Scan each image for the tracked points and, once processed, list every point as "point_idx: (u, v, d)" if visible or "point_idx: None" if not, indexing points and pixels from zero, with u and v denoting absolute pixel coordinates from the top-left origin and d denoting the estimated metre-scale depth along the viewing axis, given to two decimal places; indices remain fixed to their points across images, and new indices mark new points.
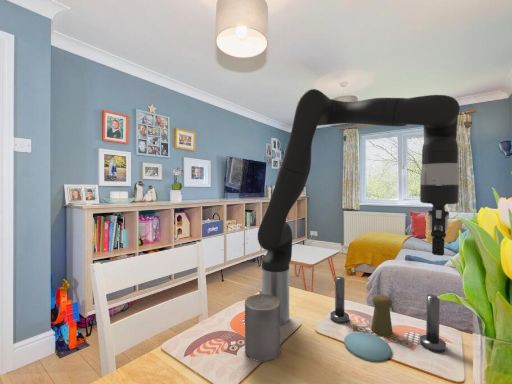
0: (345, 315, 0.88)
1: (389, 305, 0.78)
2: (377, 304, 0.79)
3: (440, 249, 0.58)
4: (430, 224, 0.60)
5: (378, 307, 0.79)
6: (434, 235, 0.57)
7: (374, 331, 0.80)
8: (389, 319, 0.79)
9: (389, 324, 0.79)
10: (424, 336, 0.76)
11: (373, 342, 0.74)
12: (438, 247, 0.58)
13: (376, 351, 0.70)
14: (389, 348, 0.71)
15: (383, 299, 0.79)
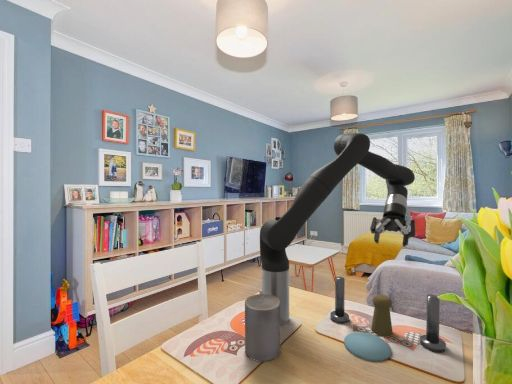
0: (345, 315, 0.88)
1: (389, 305, 0.78)
2: (377, 304, 0.79)
3: (407, 242, 0.89)
4: None
5: (378, 307, 0.79)
6: (414, 233, 0.89)
7: (374, 331, 0.80)
8: (389, 319, 0.79)
9: (389, 324, 0.79)
10: (424, 336, 0.76)
11: (373, 342, 0.74)
12: (407, 241, 0.89)
13: (376, 351, 0.70)
14: (389, 348, 0.71)
15: (383, 299, 0.79)
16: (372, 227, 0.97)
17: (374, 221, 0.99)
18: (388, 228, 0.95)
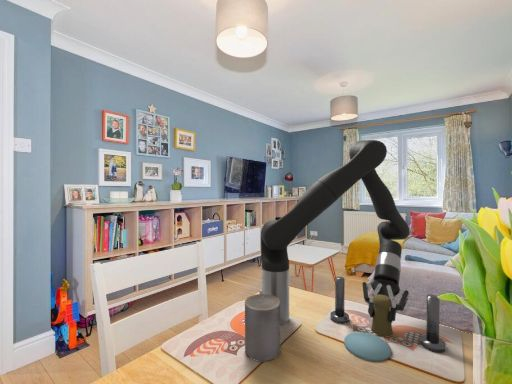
0: (345, 315, 0.88)
1: (389, 305, 0.78)
2: (377, 304, 0.79)
3: None
4: (393, 297, 0.81)
5: (378, 307, 0.79)
6: (402, 307, 0.78)
7: (374, 331, 0.80)
8: None
9: (389, 324, 0.79)
10: (424, 336, 0.76)
11: (373, 342, 0.74)
12: (395, 316, 0.78)
13: (376, 351, 0.70)
14: (389, 348, 0.71)
15: (383, 299, 0.79)
16: (366, 296, 0.84)
17: (365, 287, 0.86)
18: None
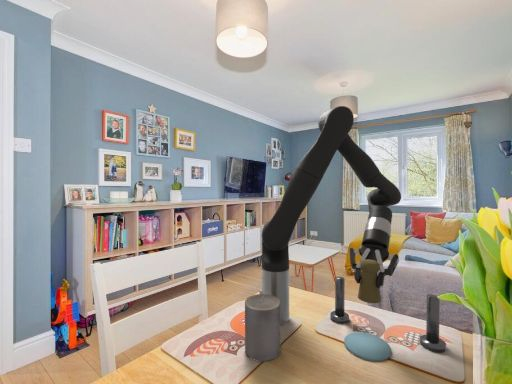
0: (345, 315, 0.88)
1: (377, 269, 0.72)
2: (364, 268, 0.73)
3: (383, 283, 0.72)
4: (382, 261, 0.74)
5: (365, 271, 0.73)
6: (391, 271, 0.72)
7: (361, 298, 0.74)
8: None
9: (377, 290, 0.72)
10: (424, 336, 0.76)
11: (373, 342, 0.74)
12: (383, 281, 0.72)
13: (376, 351, 0.70)
14: (389, 348, 0.71)
15: (370, 262, 0.73)
16: (353, 261, 0.78)
17: (352, 253, 0.80)
18: None
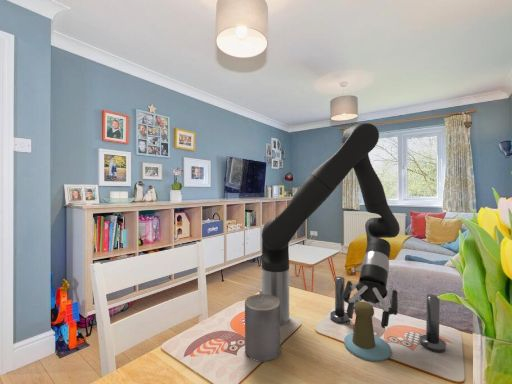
0: (345, 315, 0.88)
1: (371, 314, 0.71)
2: (359, 312, 0.72)
3: (387, 323, 0.70)
4: None
5: (359, 316, 0.72)
6: (396, 311, 0.70)
7: (355, 342, 0.73)
8: (371, 329, 0.72)
9: (371, 335, 0.72)
10: (424, 336, 0.76)
11: None
12: (387, 321, 0.70)
13: (376, 351, 0.70)
14: (389, 348, 0.71)
15: (364, 307, 0.72)
16: (345, 295, 0.78)
17: (348, 287, 0.79)
18: (365, 299, 0.76)
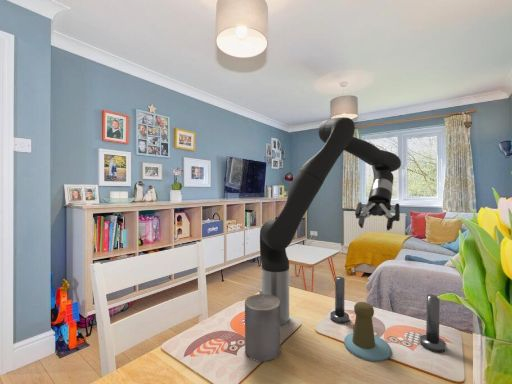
0: (345, 315, 0.88)
1: (371, 314, 0.71)
2: (359, 313, 0.72)
3: None
4: None
5: (359, 316, 0.72)
6: (398, 217, 0.88)
7: (355, 342, 0.73)
8: (371, 329, 0.72)
9: (371, 335, 0.72)
10: (424, 336, 0.76)
11: None
12: (391, 224, 0.88)
13: (376, 351, 0.70)
14: (389, 348, 0.71)
15: (364, 307, 0.72)
16: (357, 212, 0.96)
17: (359, 206, 0.97)
18: (373, 212, 0.94)
